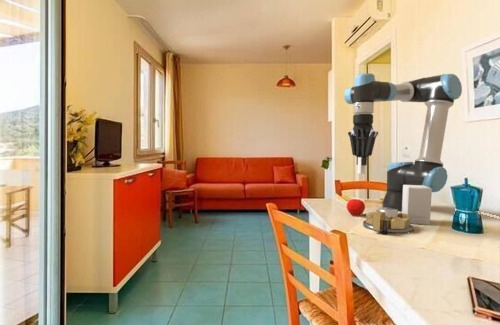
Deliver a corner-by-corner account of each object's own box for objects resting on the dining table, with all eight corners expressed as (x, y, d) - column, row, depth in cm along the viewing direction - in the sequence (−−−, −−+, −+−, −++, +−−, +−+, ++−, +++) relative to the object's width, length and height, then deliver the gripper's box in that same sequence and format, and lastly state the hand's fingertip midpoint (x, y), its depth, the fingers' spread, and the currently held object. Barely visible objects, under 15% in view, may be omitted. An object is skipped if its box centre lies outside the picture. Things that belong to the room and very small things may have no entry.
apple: (357, 212, 152) (358, 197, 152) (368, 216, 145) (369, 200, 144) (342, 213, 150) (343, 197, 149) (353, 217, 142) (354, 201, 142)
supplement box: (430, 225, 131) (432, 188, 130) (406, 223, 133) (408, 187, 132) (423, 219, 140) (425, 185, 139) (401, 218, 142) (402, 184, 141)
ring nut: (374, 217, 138) (375, 203, 138) (413, 223, 129) (414, 208, 128) (355, 226, 123) (356, 210, 123) (398, 234, 113) (398, 217, 113)
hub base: (374, 219, 141) (374, 202, 140) (419, 227, 128) (420, 209, 128) (352, 227, 126) (352, 209, 125) (400, 238, 113) (401, 218, 113)
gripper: (343, 114, 133) (342, 172, 135) (370, 112, 122) (368, 175, 124) (356, 115, 137) (354, 171, 139) (383, 113, 126) (381, 174, 128)
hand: (361, 173), depth 131 cm, fingers closed
